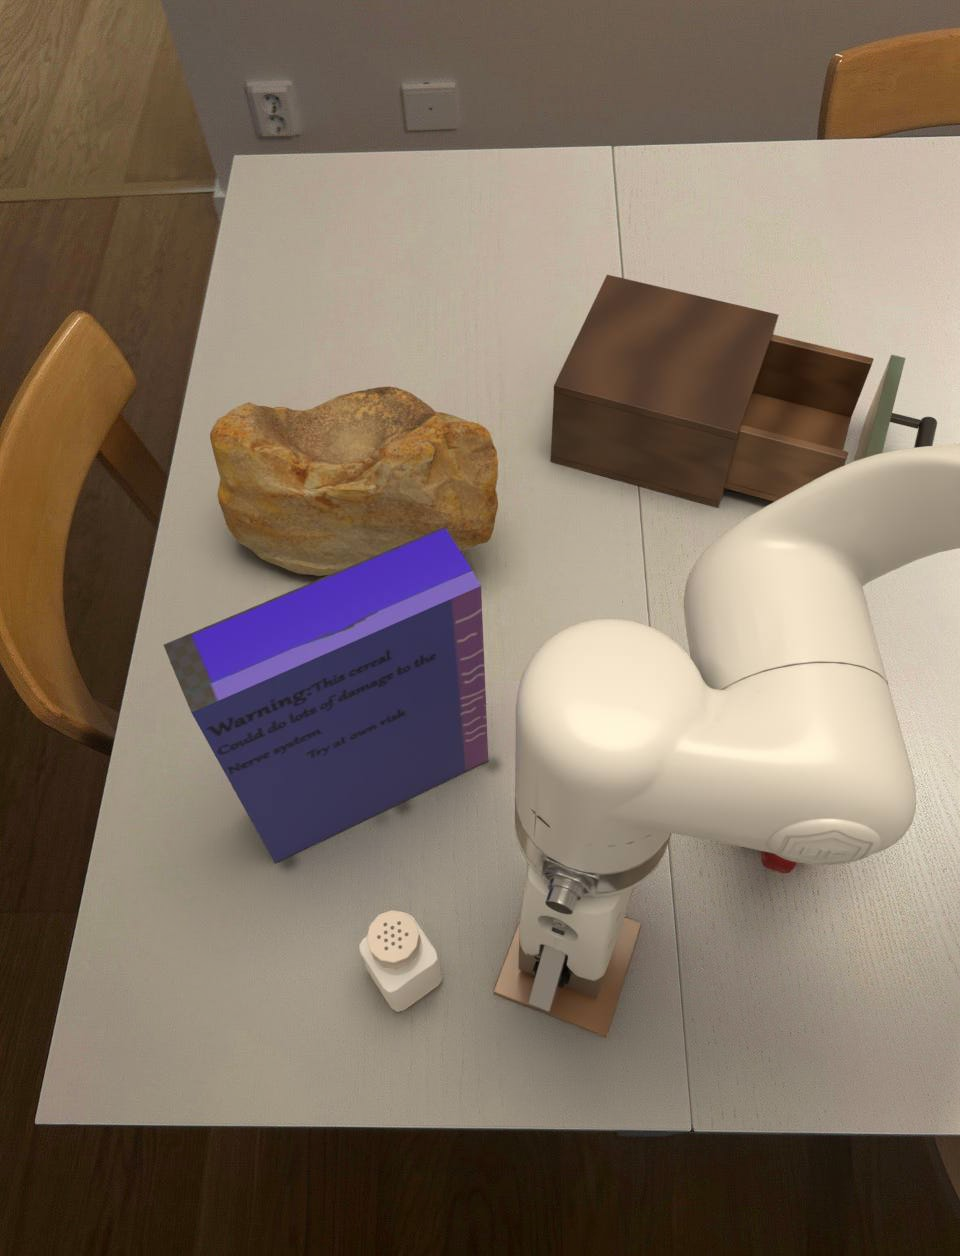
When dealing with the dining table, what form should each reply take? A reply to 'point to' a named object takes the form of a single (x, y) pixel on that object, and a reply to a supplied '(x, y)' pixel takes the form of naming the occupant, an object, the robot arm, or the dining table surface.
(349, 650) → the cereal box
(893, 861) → the dining table surface
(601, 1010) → the plate
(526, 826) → the robot arm
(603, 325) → the cabinet
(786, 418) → the drawer
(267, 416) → the rough brown rock
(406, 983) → the pepper shaker
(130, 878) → the dining table surface
